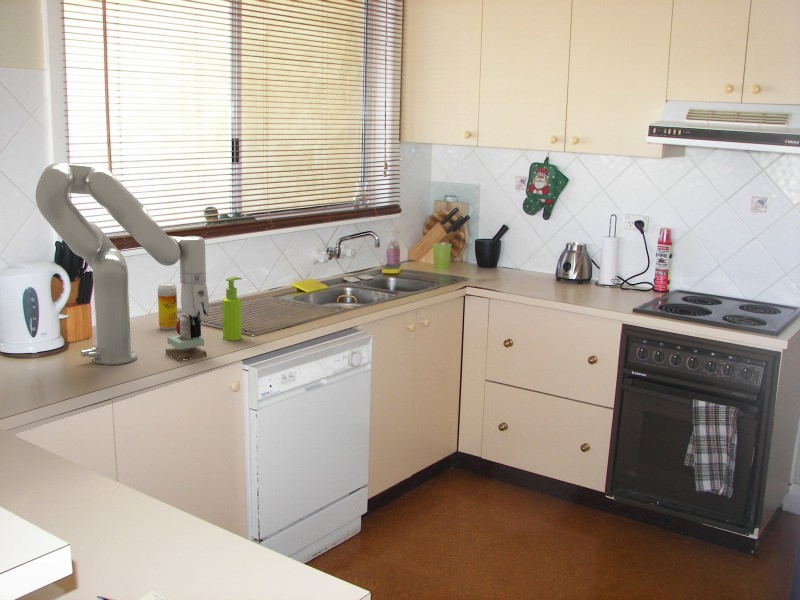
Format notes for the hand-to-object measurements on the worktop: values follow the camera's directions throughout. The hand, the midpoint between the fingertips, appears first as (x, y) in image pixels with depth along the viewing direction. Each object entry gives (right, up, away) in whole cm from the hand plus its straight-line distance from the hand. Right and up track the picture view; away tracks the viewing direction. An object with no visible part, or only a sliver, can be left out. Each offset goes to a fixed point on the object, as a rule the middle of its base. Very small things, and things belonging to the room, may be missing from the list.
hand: (195, 336), depth 264 cm
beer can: (-16, +2, +29) cm, 33 cm away
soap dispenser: (+8, -1, +19) cm, 21 cm away
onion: (-7, -2, +17) cm, 19 cm away
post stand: (-3, -6, -1) cm, 6 cm away
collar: (-2, -2, -1) cm, 4 cm away
